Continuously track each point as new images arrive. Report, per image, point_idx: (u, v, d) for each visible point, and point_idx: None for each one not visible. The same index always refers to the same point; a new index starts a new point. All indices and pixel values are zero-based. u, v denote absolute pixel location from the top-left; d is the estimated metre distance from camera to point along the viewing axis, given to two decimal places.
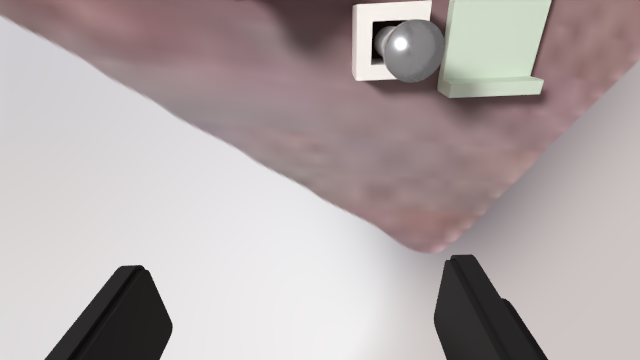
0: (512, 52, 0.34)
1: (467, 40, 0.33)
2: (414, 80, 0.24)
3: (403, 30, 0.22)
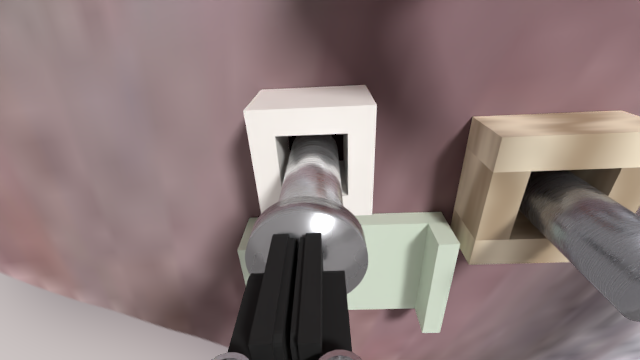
0: None
1: None
2: (251, 268, 0.11)
3: (349, 240, 0.10)
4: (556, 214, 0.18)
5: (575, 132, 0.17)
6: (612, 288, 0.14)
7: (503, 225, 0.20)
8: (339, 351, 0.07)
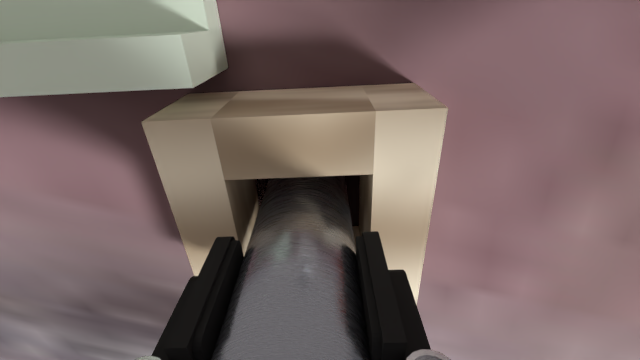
0: None
1: None
2: None
3: None
4: (321, 228, 0.10)
5: (427, 213, 0.12)
6: None
7: (255, 162, 0.11)
8: (425, 351, 0.06)
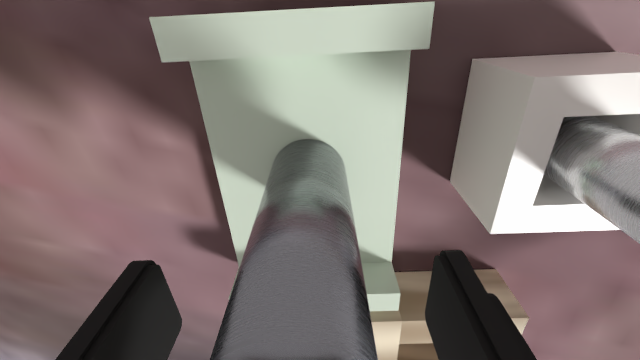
0: (256, 110, 0.15)
1: (362, 132, 0.15)
2: None
3: None
4: (323, 203, 0.10)
5: None
6: (278, 320, 0.06)
7: (419, 337, 0.19)
8: None
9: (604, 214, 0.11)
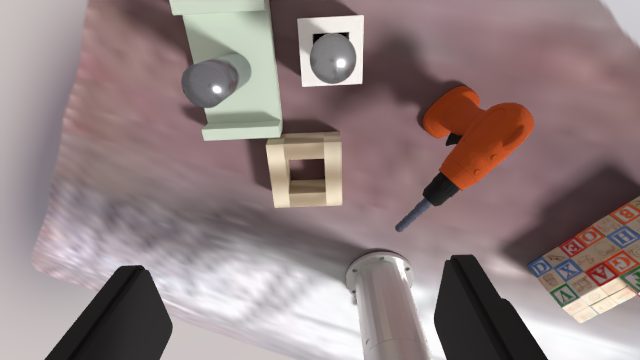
0: (210, 39, 0.36)
1: (255, 49, 0.36)
2: (330, 36, 0.27)
3: (343, 76, 0.29)
4: (224, 58, 0.31)
5: (341, 170, 0.42)
6: (198, 63, 0.27)
7: (293, 155, 0.40)
8: None
9: None
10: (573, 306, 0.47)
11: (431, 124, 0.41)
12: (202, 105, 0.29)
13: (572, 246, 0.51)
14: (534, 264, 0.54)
